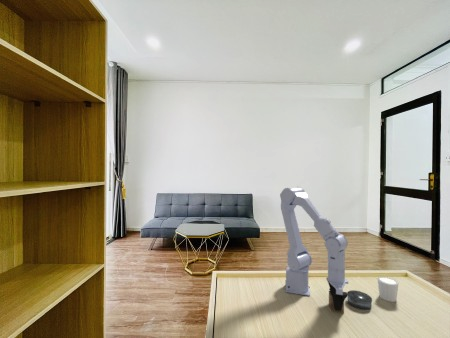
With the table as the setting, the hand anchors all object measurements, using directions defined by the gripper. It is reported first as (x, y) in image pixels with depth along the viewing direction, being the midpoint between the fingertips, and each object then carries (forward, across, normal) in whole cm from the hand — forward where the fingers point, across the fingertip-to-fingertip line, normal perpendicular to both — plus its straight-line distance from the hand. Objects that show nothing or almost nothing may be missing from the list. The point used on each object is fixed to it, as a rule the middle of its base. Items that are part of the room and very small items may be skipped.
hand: (336, 303), depth 84 cm
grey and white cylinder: (+2, +14, -21) cm, 25 cm away
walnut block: (+2, 0, 0) cm, 2 cm away
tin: (+2, +6, -9) cm, 11 cm away
